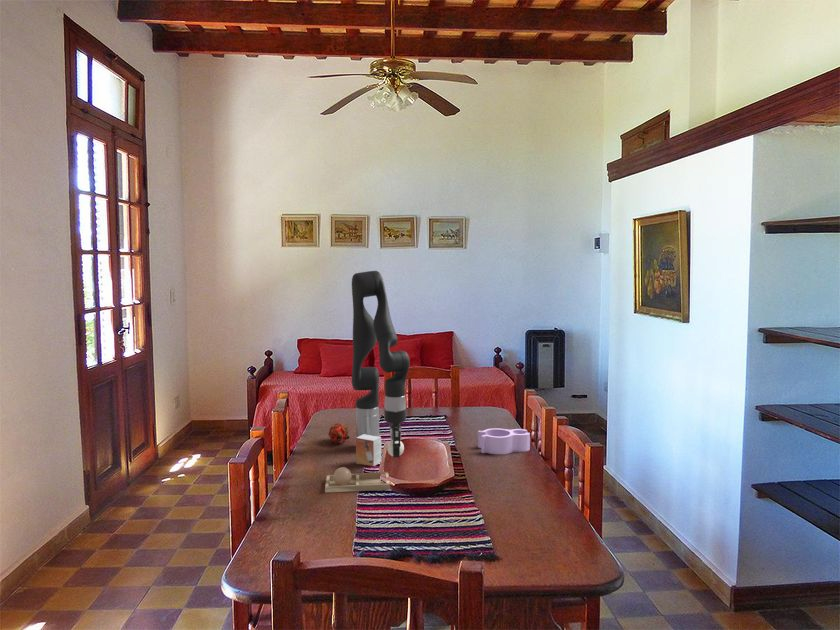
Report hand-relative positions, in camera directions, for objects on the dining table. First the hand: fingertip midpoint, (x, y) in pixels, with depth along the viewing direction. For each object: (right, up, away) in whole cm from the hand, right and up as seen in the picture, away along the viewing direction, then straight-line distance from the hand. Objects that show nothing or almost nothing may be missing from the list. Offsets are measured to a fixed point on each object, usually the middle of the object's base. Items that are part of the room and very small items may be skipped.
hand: (395, 453), depth 200 cm
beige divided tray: (-12, -9, -10) cm, 18 cm away
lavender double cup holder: (+43, -5, +27) cm, 51 cm away
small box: (-11, -7, +11) cm, 17 cm away
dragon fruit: (-25, -5, +38) cm, 46 cm away
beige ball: (-17, -8, -11) cm, 22 cm away
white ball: (0, -1, 0) cm, 1 cm away
